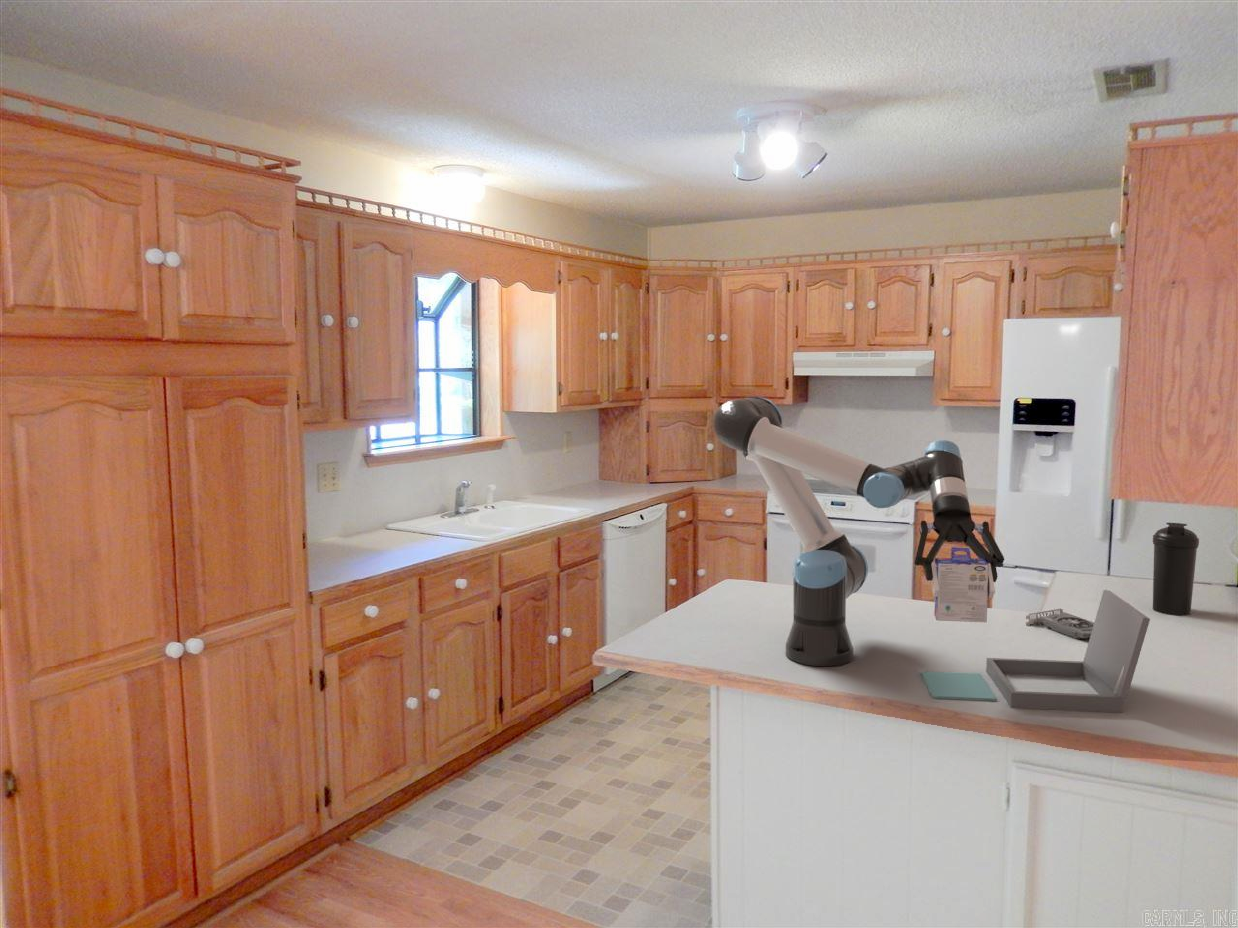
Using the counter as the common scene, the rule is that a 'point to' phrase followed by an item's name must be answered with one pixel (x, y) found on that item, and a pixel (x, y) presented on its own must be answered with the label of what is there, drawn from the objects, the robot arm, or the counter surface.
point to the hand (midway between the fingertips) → (963, 594)
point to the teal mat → (957, 686)
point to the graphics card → (1063, 623)
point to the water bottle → (1174, 569)
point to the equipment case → (1085, 664)
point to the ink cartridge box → (961, 588)
